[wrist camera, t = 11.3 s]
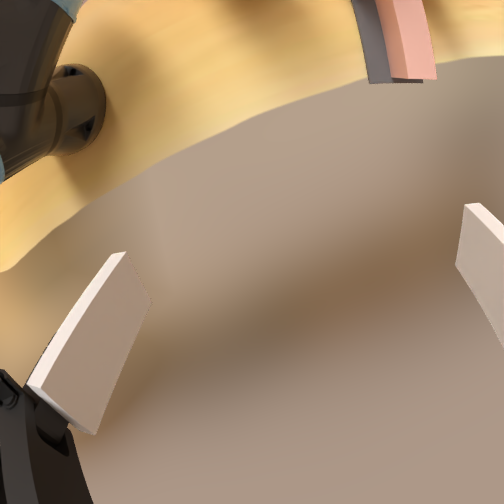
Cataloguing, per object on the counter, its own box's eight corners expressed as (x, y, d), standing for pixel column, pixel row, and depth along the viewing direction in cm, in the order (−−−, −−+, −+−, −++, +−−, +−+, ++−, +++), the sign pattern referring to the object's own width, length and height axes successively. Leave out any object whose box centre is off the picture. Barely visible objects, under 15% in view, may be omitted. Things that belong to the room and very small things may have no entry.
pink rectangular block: (391, 77, 31) (408, 78, 26) (370, -16, 24) (383, -28, 19) (417, 77, 30) (437, 79, 25) (397, -14, 23) (414, -25, 18)
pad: (369, 83, 32) (370, 83, 32) (344, -22, 24) (345, -24, 24) (421, 82, 31) (423, 83, 30) (399, -20, 23) (400, -21, 22)
